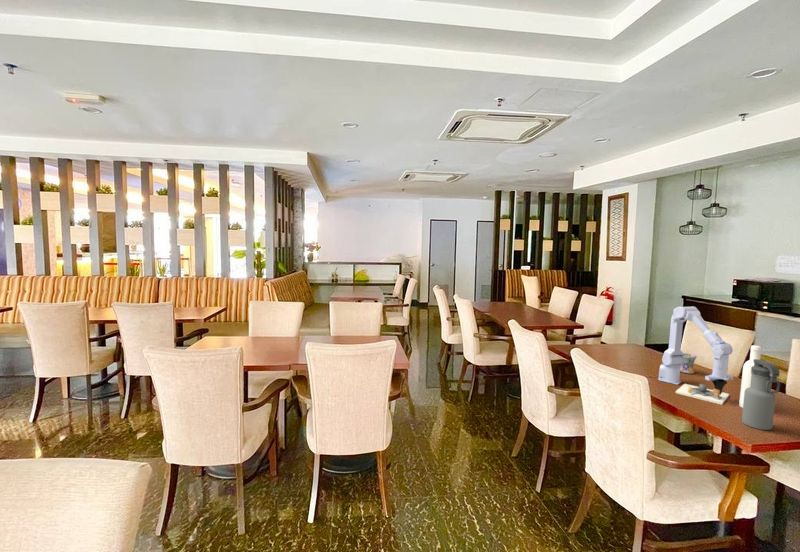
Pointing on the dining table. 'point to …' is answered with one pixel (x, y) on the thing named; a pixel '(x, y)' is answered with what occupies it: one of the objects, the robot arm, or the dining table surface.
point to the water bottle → (760, 396)
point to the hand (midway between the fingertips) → (717, 393)
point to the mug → (688, 364)
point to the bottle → (748, 371)
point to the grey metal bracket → (709, 392)
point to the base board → (687, 391)
